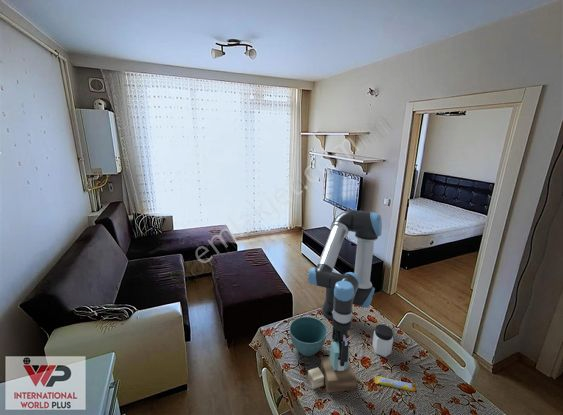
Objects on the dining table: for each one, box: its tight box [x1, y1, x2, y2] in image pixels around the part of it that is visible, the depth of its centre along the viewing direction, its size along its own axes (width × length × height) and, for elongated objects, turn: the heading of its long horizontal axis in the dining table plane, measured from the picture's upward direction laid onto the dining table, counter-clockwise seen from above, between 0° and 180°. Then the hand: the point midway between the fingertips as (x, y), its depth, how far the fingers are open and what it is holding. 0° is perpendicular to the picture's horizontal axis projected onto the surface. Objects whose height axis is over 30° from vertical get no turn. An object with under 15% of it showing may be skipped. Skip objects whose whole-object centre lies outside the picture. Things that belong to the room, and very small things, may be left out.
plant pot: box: [289, 316, 328, 357], centre depth 128 cm, size 18×18×12 cm
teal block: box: [329, 341, 350, 370], centre depth 111 cm, size 6×6×9 cm
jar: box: [371, 323, 394, 358], centre depth 128 cm, size 9×8×12 cm
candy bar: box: [373, 374, 417, 393], centre depth 111 cm, size 17×4×2 cm, turn 76°
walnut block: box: [320, 355, 357, 393], centre depth 113 cm, size 12×12×6 cm
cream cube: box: [307, 366, 325, 390], centre depth 111 cm, size 5×5×5 cm
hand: (338, 363), depth 112 cm, fingers closed on teal block, 6 cm apart
